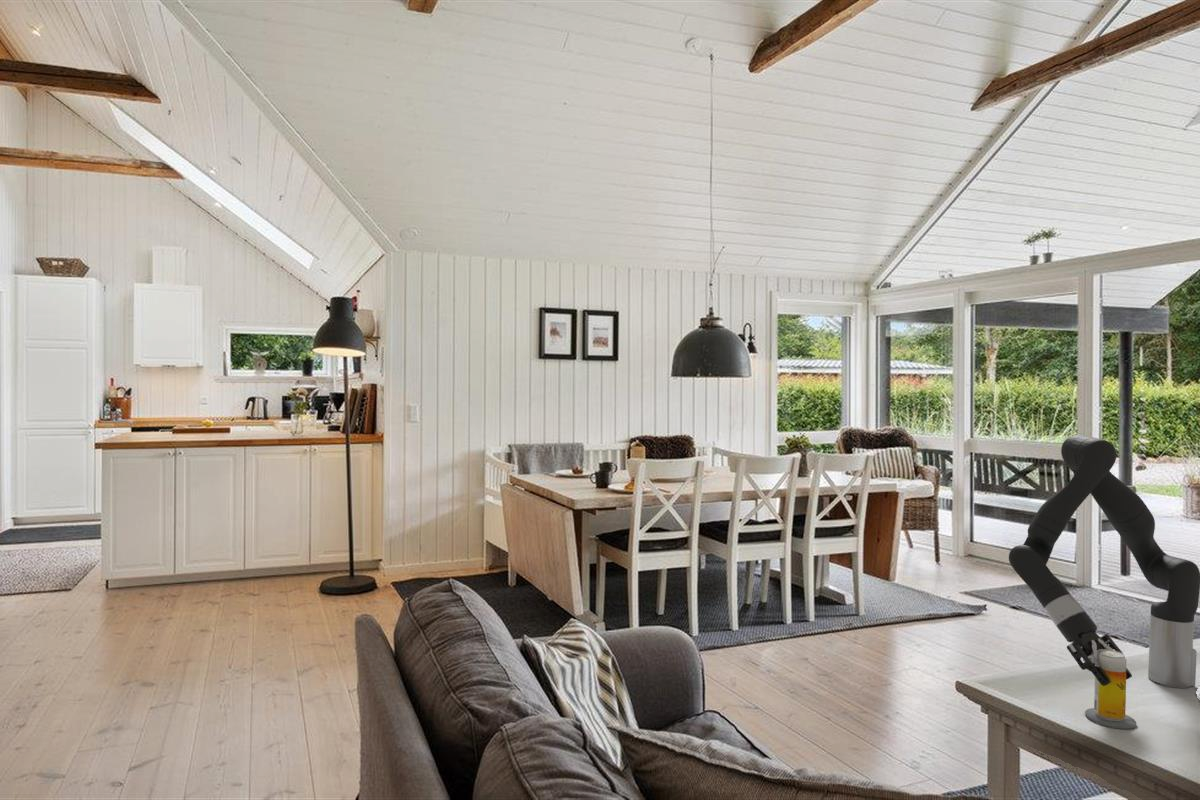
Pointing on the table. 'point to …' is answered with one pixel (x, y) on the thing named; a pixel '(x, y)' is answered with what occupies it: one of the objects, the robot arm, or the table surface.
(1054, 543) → the robot arm
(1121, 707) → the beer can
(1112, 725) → the slate coaster
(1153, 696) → the table surface
